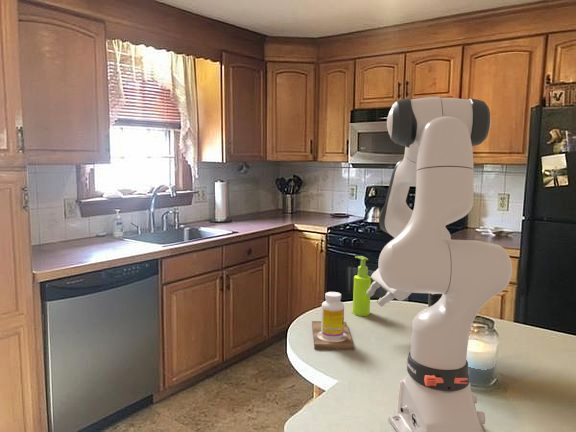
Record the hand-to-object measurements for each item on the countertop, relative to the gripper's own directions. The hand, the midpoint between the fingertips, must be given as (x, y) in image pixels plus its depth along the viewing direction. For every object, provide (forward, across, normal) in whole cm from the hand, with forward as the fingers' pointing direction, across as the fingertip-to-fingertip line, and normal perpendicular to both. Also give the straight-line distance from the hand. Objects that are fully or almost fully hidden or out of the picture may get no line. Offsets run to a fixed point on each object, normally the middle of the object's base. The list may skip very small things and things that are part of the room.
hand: (373, 299), depth 139 cm
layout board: (+17, -3, 0) cm, 17 cm away
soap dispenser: (+6, -23, +11) cm, 26 cm away
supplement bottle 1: (+16, 0, -1) cm, 16 cm away
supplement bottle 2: (-12, -15, +29) cm, 35 cm away
